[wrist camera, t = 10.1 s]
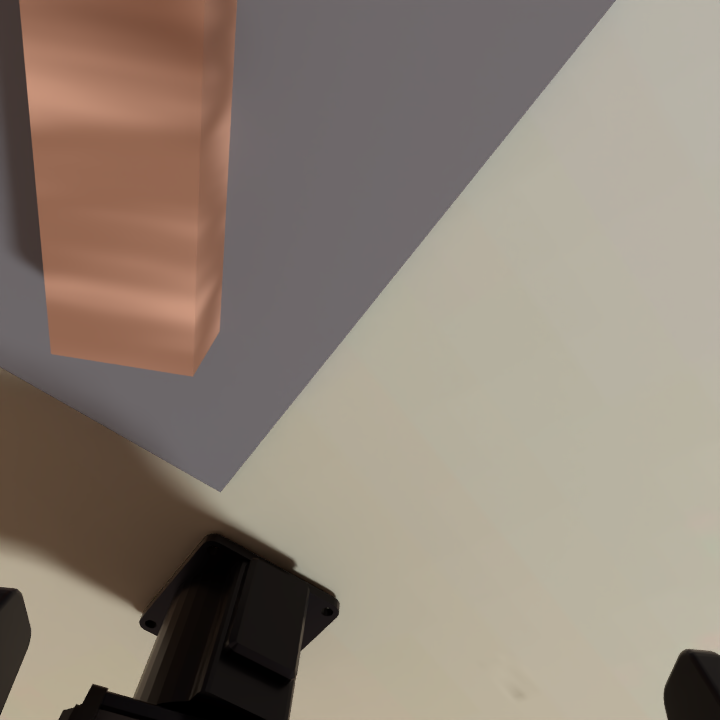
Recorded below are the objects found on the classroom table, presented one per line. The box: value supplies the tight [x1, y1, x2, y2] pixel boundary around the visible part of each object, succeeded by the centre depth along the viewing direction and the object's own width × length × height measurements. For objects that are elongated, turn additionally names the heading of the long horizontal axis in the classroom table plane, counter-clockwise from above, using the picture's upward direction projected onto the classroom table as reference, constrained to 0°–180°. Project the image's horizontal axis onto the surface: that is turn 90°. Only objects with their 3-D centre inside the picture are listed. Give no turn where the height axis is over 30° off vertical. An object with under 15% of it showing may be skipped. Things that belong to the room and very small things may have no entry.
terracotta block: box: [19, 0, 237, 377], centre depth 16 cm, size 3×4×13 cm
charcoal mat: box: [0, 0, 616, 492], centre depth 18 cm, size 20×16×1 cm
